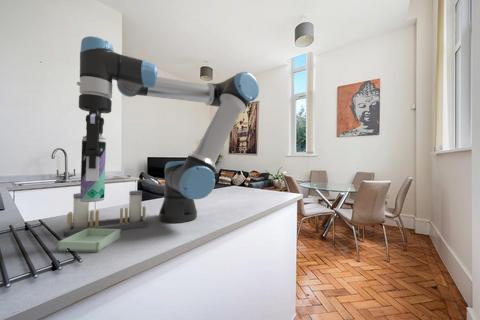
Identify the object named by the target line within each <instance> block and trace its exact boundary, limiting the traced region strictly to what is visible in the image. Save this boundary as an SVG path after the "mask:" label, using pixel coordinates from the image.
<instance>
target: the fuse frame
mask: <svg viewBox="0 0 480 320" xmlns="http://www.w3.org/2000/svg"><path fill="white" fill-rule="evenodd" d="M128 208H129V207H124V208H123V207H121V208H119V209H120V210H119V211H120V212H119V217H118V218H110V219H108V218H107V219H99V218H100V209H97V210H90V211H89V220H88V228H95V229H121V231H122V230H129V229H139V228H146V227H147V225H148V223H147V219H146V210H147V209H146V206H142V208H141V222H135V223H129V209H128ZM94 211H95V213H94ZM94 215H95V216H94ZM94 217H95V219H94ZM66 218H67V221H66V224H67V225H66V228H65V230H64V231H63V238H64V237H65V238H67V237H70V236H72V235H74V234H76V233H78V232H81V231H83V230H85V229H87V228H82V229H73V212H72V211H71V212H70V211H69V212H68V213H67V217H66Z"/></svg>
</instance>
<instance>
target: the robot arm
mask: <svg viewBox="0 0 480 320" xmlns="http://www.w3.org/2000/svg"><path fill="white" fill-rule="evenodd" d="M113 80H114V81H116V87H117V89H118V91H119V93H120V94H122V95H123V96H125V97H129V98H132V97H135V96H142V97H153V98H160V99H161V98H162V99H169V100H179V101H185V102H186V101H188V102H197V103H204V104H205V105H206V106H211V107H216V108H217V110H216V112H215V114H214V116H213V118H212V119H211V121H210V123H209V125H208V127H207V128H206V130H205V132H204V134H203V136H202V138H201V140H200V141H199V144H198V146H197V148H196V149H195V150H194V151H195V152H194V153H193V154H189V155H187V157H186V159H185V160H177V161H176V160H175V161H168V162H166V164H165V165H164V166H165V167H164V193H163V194H164V195H163V196H164V197H163V198H164V199H163V202H162V204H161V207H160V210H159V213H158V219H159V221H160V222H161V221H162V222H165V223H176V224H177V223H178V224H179V223H186V222H191V221H194V220H196V219H197V218H198V209H197V206H196V203H195V200H202V199H204V198H206V197H208V196H209V195H210V194H211V193H212V192H213V190H214V188H215V184H216V179H215V175H216V174H215V173H216V172H217V166H216V162H217V161H218V159H219V156H220V154H221V152H222V150H223V148H224V146H225V144H226V142H227V140H228V138H229V136H230V135H231V132H232V130H233V128H234V126H235V124H236V123H237V122H236V121H237V120H238V118H239V116H240V114H243V113H244V112H246V110H247V108H248V106H249V104H250V102H254V101H255V100H256V99H257V98H258V96H259V93H260V87H259V85H258V81H257V79H256V77H255V76H254V75H253V74H251V73H250V72H248V71H241V72H237V73H236V74H235V75H233V76H232V77H230V78H228V79H225V80H224V81H222V82H217V83H213V82H208V83H206V84H204V83H197V82H191V81H186V80H185V81H184V80H178V79H174V78H173V79H172V78H166V77H161V76H158V67H157V66H156V64H154V63H151V62H148V61H146V60H145V59H143V60H142V59H138V58H135V57H132V56H127V55H124V54H120V53H117V52H116V51H114V46H113V45H112V43H110V42H109V41H107V40H104V39H103V38H101V37H97V36H91V35H90V36H89V35H88V36H85V37H83V38H82V39H81V43H80V51H79V81H77V82H76V85H77V86H79V90H78V91H79V93H80V95H79V96H78V108H79V109H80V110H81V111H85V112H88V114H86V116H85V123H86V126H85V129H86V135H85V136H86V150H85V152H86V153H83V156H87V157H86V181H98V177H99V157H96V156H98V155H99V153H98V151H99V134H101V136H102V137H103V135H102V134H103V132H104V125H105V119H104V117H102V114H110V113H111V112H112V105H113V104H112V100H111V99H112V98H113Z"/></svg>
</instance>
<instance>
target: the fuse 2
mask: <svg viewBox="0 0 480 320" xmlns="http://www.w3.org/2000/svg"><path fill="white" fill-rule="evenodd" d="M128 195H129V203H128V205H129V206H128V208H129V209H128V217H129V222H128V223H135V222H141V216H142V201H143V200H142V199H143V198H142V197H143V196H142V195H143V191H142V190H130V191H129V192H128Z"/></svg>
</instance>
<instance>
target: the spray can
mask: <svg viewBox="0 0 480 320" xmlns="http://www.w3.org/2000/svg"><path fill="white" fill-rule="evenodd" d="M106 144H107V141H106V137H104V136H103V135H102V136H101V134H99V151H98V153H99V155H98V156H96V157H99V177H98V181H86V157H87V156H83V153H86V152H85V150H86V135H84V136H82V139H81V162H80V163H81V164H80V192H79V193H80V201H81V202H89V203H94V202H95V203H97V202H101V201H104V200H105V181H106V180H105V179H106V153H107V152H106V149H107V145H106Z"/></svg>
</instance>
